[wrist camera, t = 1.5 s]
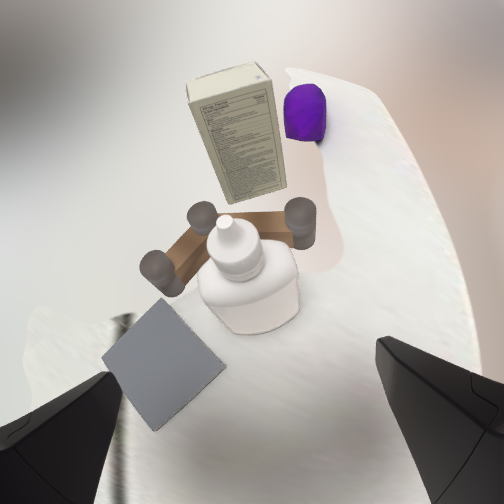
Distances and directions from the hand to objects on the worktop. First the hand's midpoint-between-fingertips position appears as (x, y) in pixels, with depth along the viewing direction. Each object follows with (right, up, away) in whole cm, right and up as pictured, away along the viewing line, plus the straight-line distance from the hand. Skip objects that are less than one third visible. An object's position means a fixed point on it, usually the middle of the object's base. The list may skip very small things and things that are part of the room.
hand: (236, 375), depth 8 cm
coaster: (-7, -5, +13) cm, 15 cm away
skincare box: (+1, +11, +20) cm, 23 cm away
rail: (-1, +3, +16) cm, 17 cm away
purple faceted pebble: (+8, +20, +25) cm, 33 cm away
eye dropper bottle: (+1, -1, +14) cm, 14 cm away
